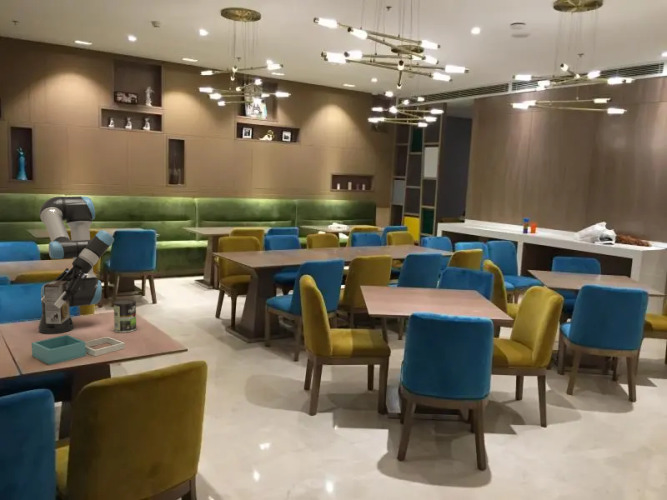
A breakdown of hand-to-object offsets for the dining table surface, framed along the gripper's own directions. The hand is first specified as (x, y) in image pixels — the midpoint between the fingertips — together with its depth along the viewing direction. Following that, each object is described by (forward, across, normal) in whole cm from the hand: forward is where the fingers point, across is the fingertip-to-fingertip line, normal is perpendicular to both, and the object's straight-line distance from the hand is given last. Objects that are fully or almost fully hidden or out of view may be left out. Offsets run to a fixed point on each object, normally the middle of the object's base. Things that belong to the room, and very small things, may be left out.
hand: (49, 304), depth 228 cm
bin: (+14, 0, -18) cm, 23 cm away
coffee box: (+3, 0, -8) cm, 8 cm away
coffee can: (-14, +14, -46) cm, 50 cm away
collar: (+3, -4, -30) cm, 30 cm away
